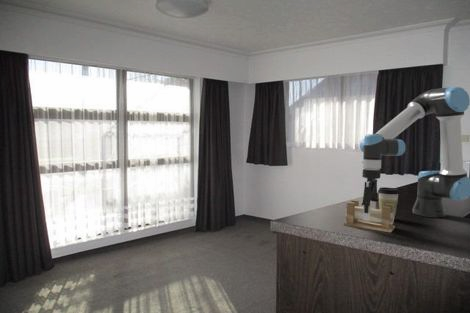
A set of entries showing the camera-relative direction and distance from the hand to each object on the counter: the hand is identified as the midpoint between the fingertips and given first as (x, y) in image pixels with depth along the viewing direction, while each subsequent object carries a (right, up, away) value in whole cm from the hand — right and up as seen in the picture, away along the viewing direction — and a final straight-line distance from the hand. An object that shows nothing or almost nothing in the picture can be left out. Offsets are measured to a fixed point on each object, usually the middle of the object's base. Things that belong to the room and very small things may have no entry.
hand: (369, 217), depth 164 cm
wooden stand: (0, -4, 0) cm, 4 cm away
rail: (0, -1, 0) cm, 1 cm away
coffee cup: (+15, -3, +16) cm, 22 cm away
